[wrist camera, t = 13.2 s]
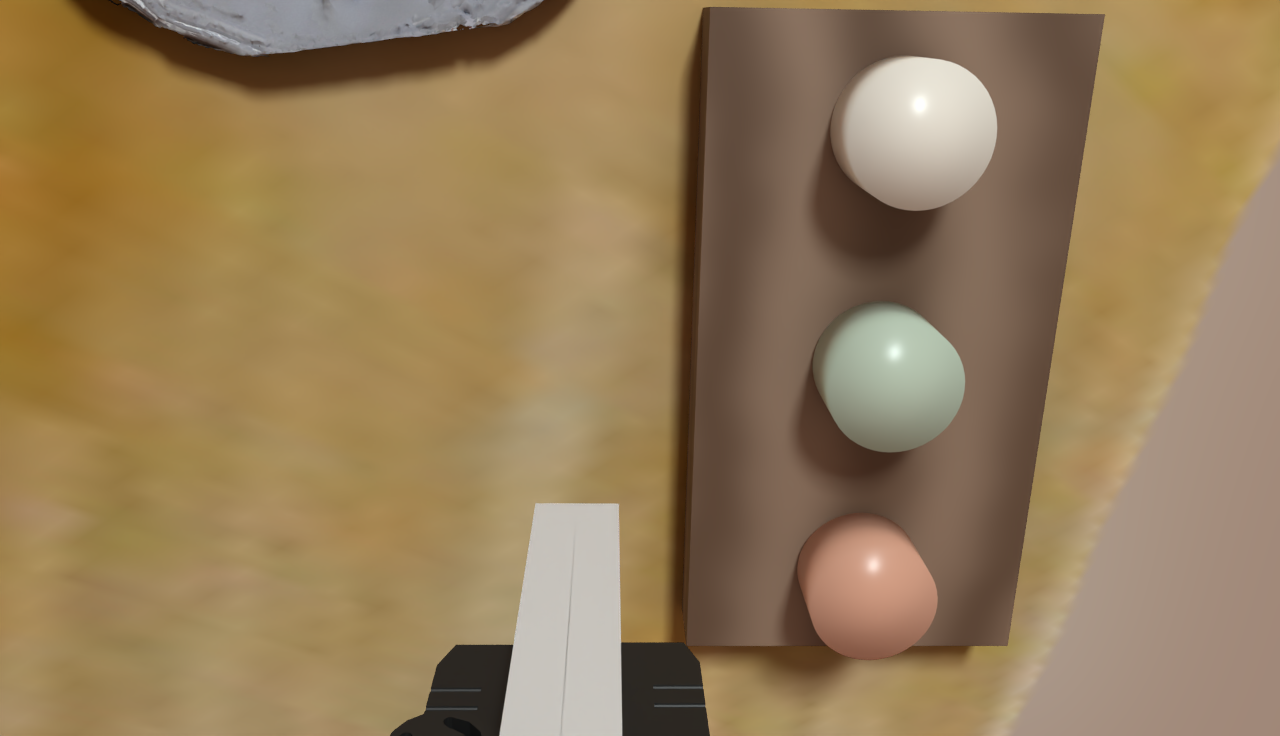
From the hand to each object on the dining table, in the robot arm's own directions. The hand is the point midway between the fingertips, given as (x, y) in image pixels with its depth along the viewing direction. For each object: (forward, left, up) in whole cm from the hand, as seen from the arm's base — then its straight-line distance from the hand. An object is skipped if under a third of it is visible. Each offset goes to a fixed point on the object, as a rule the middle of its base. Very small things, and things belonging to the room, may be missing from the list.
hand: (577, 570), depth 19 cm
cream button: (+11, +6, -21) cm, 25 cm away
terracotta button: (+11, -12, -21) cm, 27 cm away
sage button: (+11, -3, -21) cm, 24 cm away
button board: (+11, -3, -24) cm, 27 cm away
